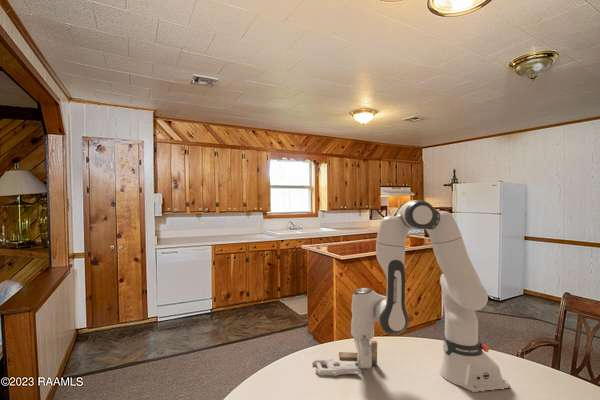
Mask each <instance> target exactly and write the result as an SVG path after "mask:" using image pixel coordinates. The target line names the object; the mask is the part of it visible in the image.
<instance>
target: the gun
mask: <svg viewBox="0 0 600 400" xmlns="http://www.w3.org/2000/svg"><path fill="white" fill-rule="evenodd" d="M311 364H312V366H315V367H316V368H315V373H316V374H317V375H318V376H320V377H321V376H335V377H336V376H337V377H338V376H341V375H360V374H362V370H361V368H359V367H358V363H357V361H350V362H349V361H341V360H336V359H334V358H333V357H324V358H323V357H319V358H316V359H314V361H312V363H311ZM323 366H325V367H326V368H323Z"/></svg>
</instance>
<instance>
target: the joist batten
mask: <svg viewBox="0 0 600 400" xmlns="http://www.w3.org/2000/svg"><path fill="white" fill-rule="evenodd" d="M357 354H358V352H347V351H346V352H345V351H342V352H341V351H340V352H338V357H339V360H343V361H344V360H348V361H349V360H350V361H357Z"/></svg>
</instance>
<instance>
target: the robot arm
mask: <svg viewBox="0 0 600 400" xmlns="http://www.w3.org/2000/svg"><path fill="white" fill-rule="evenodd" d="M458 225H459V224H458V223H457V222H456V220H455V218H454V215H452V213H450V212H449V211H445V210H437V209H436V207H434V206H433V204H431V203H429V202H427V201H425V200H422V199H419V200H417V199H414V200H413V199H412V200H409V201H406V202H403V203H402V204H401V205H400V206H399V208H397V210H396V212H395V213H394V214H393V215H387V216H385V217H383V218H382V219H381V220H380V223H379V226H378V229H377V233H376V234H377V235H376V243H375V253H376V260H377V262H378V264H379V265H380V267H381V269H382V271H383V272H384V275H385V278H386V295H383V294H380V293H377V292H375V291H374V290H373V289H372V288H370V287H360V288H358V289H355V290H354V292H353V294H352V299H351V316H352V318H351V322H350V326H351V327H350V334H351V336H352V337H353V341H354V345H355V349H356V353H358V356H359V364H360V367H361V368H360V369H369V368H370V367H371V368H372V351H371V341H372V340H373V339H374V337H375V323H376V322H378V323H379V325H380V327H381V328H382V330H383V331H384V332H385V333H386V334H388V335H392V336H394V335H395V336H396V335H400V334H402V333H403V332H404V331H405V330H406V329H407V328H408V325H409V321H410V319H409V315H408V313H407V310H406V309H407V308H406V272H405V268H406V267H405V258H406V247H407V246H406V244H407V243H406V242H407V236H408V234H409V232H410V231H411V230H412V229H414V230H426V232H427V234H428V237H429V239H430V243H431V247H432V250H433V253H434V257H435V260H436V262H437V264H438V266H439V269H440V270H441V272H442V274H441V275H440V278H439V282H440V287H441V296H442V297H441V298H442V302H443V303H442V304H443V310H444V334H443V342H442V347H443V356H442V362H441V365H440V367H439V373H440V375H441V376H442V377H443V378H444V379H446V380H447V382H450V383H452V384H454V385H456V386H459V387H462V388H464V389H466V390H468V391H470V392H472V393H479V391H481V392H486V391H485V390H492V391H495V390H494V389H502V388H503V390H505V389H504V388H508V387H509V388H510V384H509V381H507V379H506V378H505V377H504V376H503V374H502V373H501V369H500V366H499V365H498V364H497V363H496V361H495V360H494V359H493V358H491V357H490V356H489V355H488V354H487V353H488V352H489V351H490V348H489V346H487V345H486V344H485V343H484V344H483V343H482V342H481V341H480V340H479V320H478V317H477V315H476V311H479V310H482V309H483V308H484V307H486V305H487V303H488V301H489V294H488V292H487V290H486V289H485V286H484V285H483V284H482V281H481V280H480V278H479V275H478V273H477V271H476V268H475V267H474V265H473V263H472V261H471V259H470V257H469V253H468V251H467V248H466V245H465V242H464V239H463V236H462V234H461V230H460V227H459V226H458ZM505 382H506V383H505Z"/></svg>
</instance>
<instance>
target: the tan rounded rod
mask: <svg viewBox="0 0 600 400" xmlns="http://www.w3.org/2000/svg"><path fill="white" fill-rule="evenodd" d="M370 345H371V351H372V366H373V367H376V366H377V365H378V341H377V340H374V339H371V341H370ZM372 366H371V367H372Z"/></svg>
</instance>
